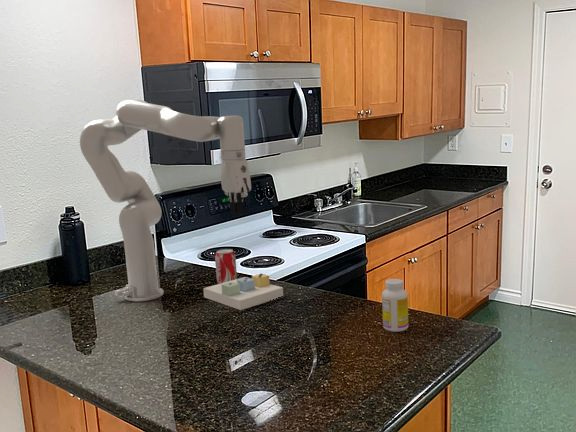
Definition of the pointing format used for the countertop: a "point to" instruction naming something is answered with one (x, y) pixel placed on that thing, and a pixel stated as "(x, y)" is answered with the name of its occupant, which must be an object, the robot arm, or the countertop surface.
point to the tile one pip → (230, 289)
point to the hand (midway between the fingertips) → (237, 214)
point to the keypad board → (243, 295)
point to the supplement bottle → (395, 306)
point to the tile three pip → (261, 280)
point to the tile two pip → (246, 284)
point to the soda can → (225, 266)
